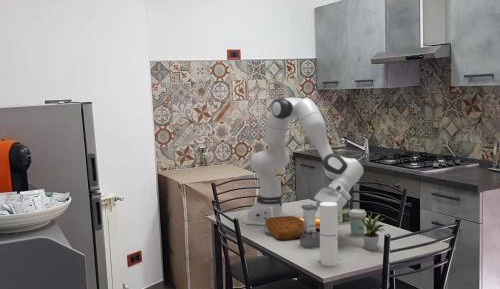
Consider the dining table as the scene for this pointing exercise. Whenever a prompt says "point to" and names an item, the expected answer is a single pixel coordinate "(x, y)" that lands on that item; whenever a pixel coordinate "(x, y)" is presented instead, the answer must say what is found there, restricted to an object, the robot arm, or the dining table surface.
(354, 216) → the coffee cup
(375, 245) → the house plant
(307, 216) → the column
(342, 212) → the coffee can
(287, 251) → the dining table surface
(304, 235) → the stand base
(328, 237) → the cylindrical container
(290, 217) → the cuneiform tablet
